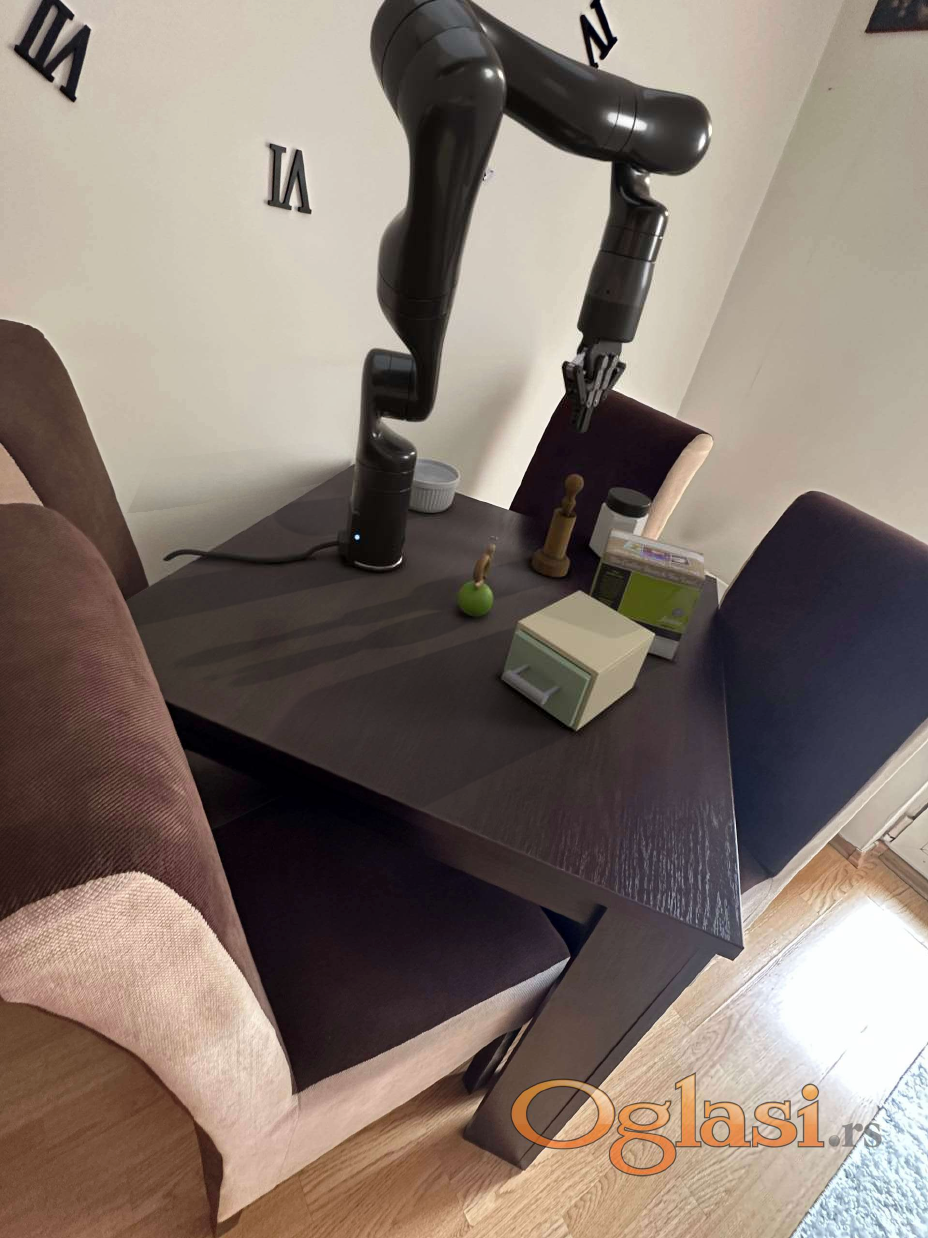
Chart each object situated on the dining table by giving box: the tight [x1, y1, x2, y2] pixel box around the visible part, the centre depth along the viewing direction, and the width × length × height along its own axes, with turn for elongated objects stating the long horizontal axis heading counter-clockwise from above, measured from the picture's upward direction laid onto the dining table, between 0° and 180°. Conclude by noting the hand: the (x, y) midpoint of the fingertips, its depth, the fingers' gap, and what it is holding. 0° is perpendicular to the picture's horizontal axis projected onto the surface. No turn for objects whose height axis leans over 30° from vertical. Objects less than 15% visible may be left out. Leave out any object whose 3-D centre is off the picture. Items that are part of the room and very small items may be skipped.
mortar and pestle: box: [531, 473, 585, 578], centre depth 113 cm, size 7×6×18 cm
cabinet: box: [515, 590, 655, 732], centre depth 88 cm, size 15×13×10 cm
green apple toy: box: [457, 535, 499, 617], centre depth 98 cm, size 5×6×12 cm
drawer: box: [501, 630, 592, 728], centre depth 85 cm, size 18×11×8 cm, turn 137°
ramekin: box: [409, 456, 461, 514], centre depth 130 cm, size 13×13×7 cm
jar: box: [588, 487, 652, 558], centre depth 126 cm, size 9×8×12 cm
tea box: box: [588, 528, 707, 660], centre depth 101 cm, size 15×10×15 cm, turn 73°
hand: (576, 431), depth 91 cm, fingers closed
